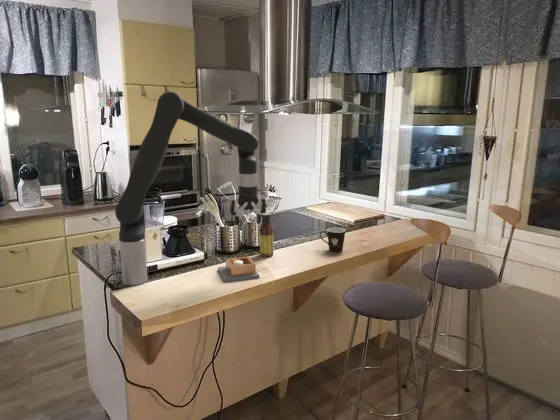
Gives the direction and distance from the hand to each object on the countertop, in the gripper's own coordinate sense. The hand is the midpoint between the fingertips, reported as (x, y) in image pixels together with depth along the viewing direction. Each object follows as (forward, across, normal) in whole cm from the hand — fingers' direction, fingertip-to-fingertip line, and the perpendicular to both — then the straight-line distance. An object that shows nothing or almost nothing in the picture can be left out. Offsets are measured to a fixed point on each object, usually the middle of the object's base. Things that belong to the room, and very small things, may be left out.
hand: (248, 224), depth 175 cm
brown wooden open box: (+20, -3, 0) cm, 20 cm away
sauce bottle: (+21, +14, +19) cm, 31 cm away
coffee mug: (+20, +47, +17) cm, 54 cm away
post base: (+21, -4, 0) cm, 21 cm away
